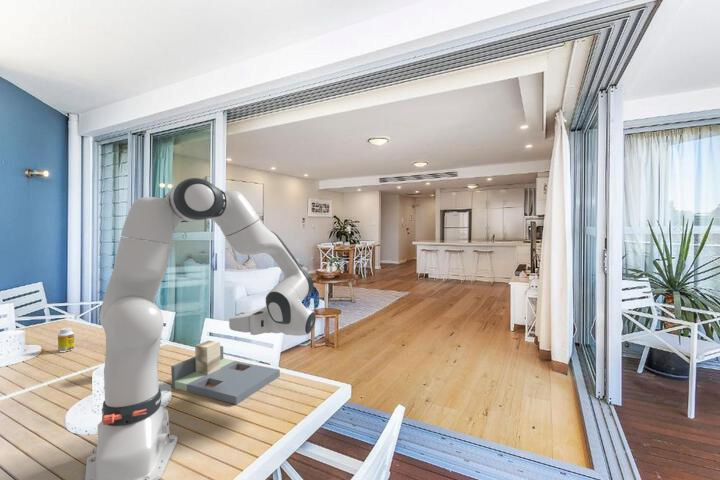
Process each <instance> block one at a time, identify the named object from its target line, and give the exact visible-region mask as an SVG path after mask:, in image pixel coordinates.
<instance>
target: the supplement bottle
mask: <svg viewBox="0 0 720 480" xmlns="http://www.w3.org/2000/svg"><path fill="white" fill-rule="evenodd" d="M57 349H58V350H59V351H67V350H71V349H73V350H75V333H74V331H73V329H72V327H70V326H69V327H63V328H61V329H59V333H58V334H57ZM58 350H57V351H58ZM59 351H58V352H59ZM71 351H72V350H71Z"/></svg>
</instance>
